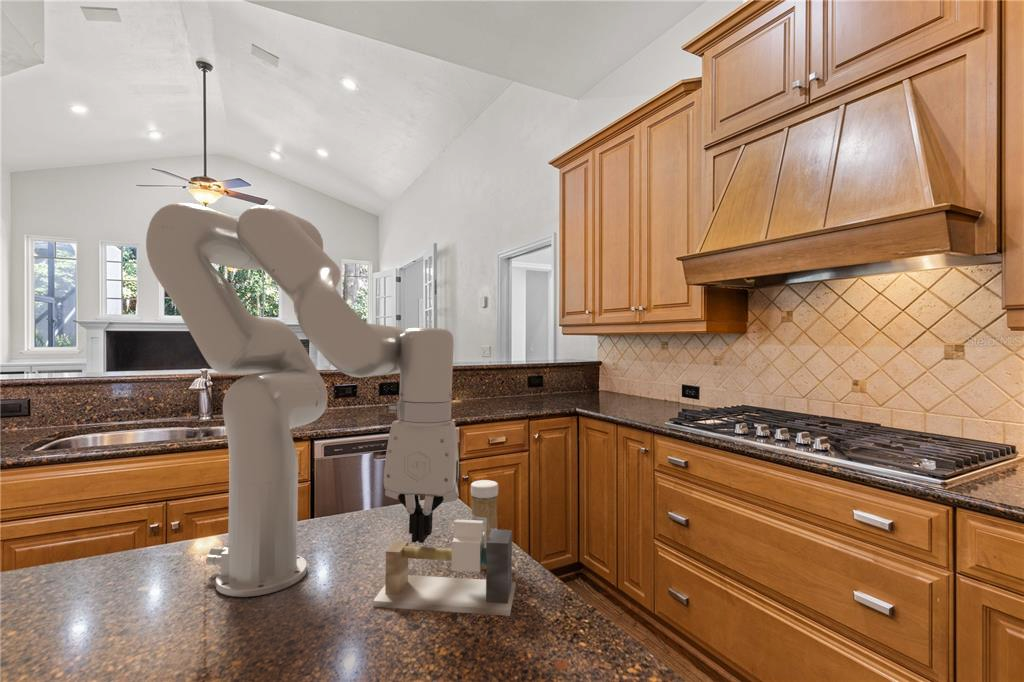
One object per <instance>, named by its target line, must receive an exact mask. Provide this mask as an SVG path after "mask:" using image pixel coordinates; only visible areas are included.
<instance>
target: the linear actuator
mask: <svg viewBox="0 0 1024 682" xmlns="http://www.w3.org/2000/svg"><path fill="white" fill-rule="evenodd" d="M512 544H513V530H512V529H499V528H497V529H492V530H491V532H490V535H489V537H488V540H487V542H486V548H482V550H481V565H486V569H485V570H486V571H485V572H486V573H485V579H482V578H481V579H476V578H463V577H448V576H447V577H446V576H444V577H443V576H429V575H428V576H427V575H414V574H413V575H412V574H409V559H414V560H432V561H433V560H434V561H450V562H452V548H450V547H449V548H448V547H445V548H444V547H431V546H430V547H429V546H410V545H409V541H408V540H394V541H393V542H392V543H391V545H390V546H389V547H388V548H387V550H386V551H385V583H384V584H385V585H384V586H382V588H381V590H380V591H379V592H378V594H377V595H376V596H375V597H374V599H373V600H372V607H374V608H375V607H376V608H387V609H403V610H418V611H429V612H431V611H434V612H447V613H463V614H478V615H479V614H480V615H490V616H491V615H492V616H507V617H510V616H511V612H512V608H513V602H514V597H515V591H516V588H517V581H514V580H513V581H512V577H513V576H512V573H513V572H512V571H513V569H512V566H513V565H512V562H513V561H512V555H513V552H512V551H513V550H512V549H513V545H512Z"/></svg>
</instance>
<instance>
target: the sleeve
mask: <svg viewBox="0 0 1024 682" xmlns="http://www.w3.org/2000/svg"><path fill="white" fill-rule="evenodd" d="M453 528H454V533H453V534H454V537H453V539H452V541H451V549H452V561H451V571H452V572H453V571H455V572H468V573H469V572H473V573H481V570H482V569H481V550H482V548H485V532H483V521H479V520H471V519H457V518H456V519H455V521H454V526H453Z"/></svg>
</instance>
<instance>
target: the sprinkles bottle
mask: <svg viewBox="0 0 1024 682" xmlns="http://www.w3.org/2000/svg"><path fill="white" fill-rule="evenodd" d="M470 495H471V497H470V498H471V513H470V515H471V516H470V520H479V521H483V532H485V548H486V542H487V540H488V537H489V535H490V532H491V530H492V529H498V495H499V483H498V482H497V481H494V480H489V479H481V480H480V479H479V480H475V481H473V482H472V483H470ZM481 570H486V565H481Z"/></svg>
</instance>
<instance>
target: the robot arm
mask: <svg viewBox="0 0 1024 682" xmlns="http://www.w3.org/2000/svg"><path fill="white" fill-rule="evenodd" d="M323 242H324V241H323V237H322V235H321V233H320V231H319V230H318V228H317V227H316V226H315V225H314V224H313V223H312V222H310V221H308V220H306V219H304V218H302V217H300V216H297V215H295V214H293V213H290V212H288V211H286V210H283V209H281V208H278V207H276V206H272V205H255V206H251V207H250V208H247V209H246V210H245V211H243V212H242V213H241V214H240V215H239V217H238V218H237V217H234V216H232V215H229V214H227V213H224V212H221V211H218V210H216V209H214V208H213V209H212V208H209V207H206V206H202V205H200V204H194V203H187V202H186V203H185V202H175V203H171V204H167V205H165V206H163V207H161V208H159V209H158V210H157V211H156V212H155V213H154V214H153V216H152V218H151V220H150V222H149V224H148V228H147V232H146V238H145V243H146V244H145V247H146V248H145V249H146V254H147V259H148V263H149V265H150V267H151V270H152V272H153V274H154V276H155V277H156V280H158V282H159V284H160V285H161V287H162V288H163V290H164V291H165V292H166V293H167V295H168V297H169V298H170V299H171V301H172V302H173V305H174V306H175V307H176V308H177V311H178V312H179V314H180V317H181V319H182V321H183V322H184V324H185V326H186V328H187V330H188V332H189V333H190V335H191V336H192V338H193V340H194V342H195V344H196V346H197V347H198V349H199V351H200V353H201V354H202V356H203V358H204V360H205V361H206V363H207V364H208V366H209V367H210V368H211V369H213V370H214V371H215V372H218V373H219V374H224V375H245V376H243V377H241V378H239V379H237V380H236V381H235V382H234V383H232V384H231V385H230V386H229V388H227V391H226V392H225V395H224V398H223V400H222V417H223V422H224V427H225V432H226V436H227V437H226V438H227V444H228V467H229V468H228V523H227V524H228V528H227V530H228V531H227V532H228V536H227V546H226V545H225V546H224V545H214V546H212V547H211V548H210V550H209V553H208V555H207V557H206V559H205V564H206V565H213V566H216V565H219V566H220V572H219V573H218V574H217V575H216V578H215V585H214V587H215V589H216V591H218V593H220V594H222V595H225V596H229V597H236V598H237V597H238V598H251V597H257V596H263V595H268V594H272V593H275V592H279V591H282V590H284V589H286V588H289V587H291V586H292V585H294V584H296V583H298V582H299V581H300V580H302V579H303V578H304V577H305V575H306V574H307V572H308V562H307V560H306V559H305V558H304V557H303V556H301V555H298V502H299V498H298V497H299V494H298V493H299V492H298V491H299V489H298V488H299V459H298V450H297V447H296V444H295V441H294V439H293V435H292V434H291V429H294V428H298V427H303V426H305V425H308V424H311V423H313V422H315V421H317V420H319V418H320V417H321V416H322V415H323V414H324V412H325V410H326V408H327V406H328V397H329V396H328V390H327V387H326V383H325V381H324V379H323V377H322V376H321V374H320V372H319V370H318V368H317V367H316V365H315V364H314V362H313V360H312V359H311V357H310V355H309V353H308V351H307V349H306V348H305V346H304V345H303V343H302V342H301V340H300V338H299V337H298V335H297V333H295V331H294V330H293V329H292V328H291V327H290V326H289V325H287V324H286V323H284V322H282V321H281V320H279V319H275V318H271V317H264V316H263V317H262V316H256V315H254V314H252V313H250V311H249V310H248V309H247V308H246V306H245V304H244V303H243V301H242V300H241V299H240V297H239V295H238V292H237V291H236V289H235V288H234V286H233V285H232V284H231V282H229V280H228V279H227V278H226V277H225V276H224V275H222V274H221V272H219V270H217V268H215V266H214V265H219V266H223V267H227V268H228V267H229V268H232V269H236V270H237V269H239V270H247V271H250V270H255V271H256V270H258V271H259V270H260V271H265V273H266V274H267V275H268V276H269V277H270V278H271V280H273V281H274V282H275V283H276V284H277V286H279V288H280V289H281V290H282V291H283V293H285V295H287V297H288V298H289V299H290V300H291V301H292V302H293V309H294V310H293V311H294V315H295V317H296V319H297V322H298V325H299V328H300V329H301V331H302V333H303V334H304V336H305V337H306V338H307V340H308V341H309V342H310V343H311V344H312V345H313V346H314V348H316V350H317V351H318V352H319V353H320V354H321V355H322V356H323V357H324V358H325V359H326V361H328V363H330V364H331V365H332V366H333V367H334V368H336V369H337V370H338V371H339V372H341V373H342V374H343V375H344V374H345V375H347V376H349V377H353V378H368V377H375V376H376V377H377V376H378V377H379V376H380V377H381V376H387V375H395V374H396V375H397V374H399V391H398V393H399V395H398V396H399V397H398V399H397V402H395V403H394V402H390V404H389V407H388V411H389V412H390V413H395V414H396V418H397V420H394V421H392V422H391V426H390V430H389V435H388V441H387V447H386V453H385V461H384V468H383V487H384V489H385V491H384V495H385V496H386V497H388V498H390V499H394V500H399V503H401V505H402V506H403V507H405V509H406V512H407V514H408V515H409V517H408V518H409V520H408V521H409V522H408V534H409V535H411V543H417V542H418V543H420V544H424V542H425V541H426V539H427V538H428V537H429V536H431V534H432V531H433V517H434V516H433V513H434V511H435V510H436V509H437V507H439V506H440V505H442V504H446V503H451V502H452V503H453V502H456V501H457V500H458V499H459V496H460V493H459V488H458V482H459V473H460V472H459V471H460V465H459V462H460V460H459V442H458V435H457V429H456V423H455V422H454V421H451V419H452V395H453V393H452V392H453V390H452V389H453V370H454V369H453V368H454V366H453V365H454V336H453V334H452V332H451V331H450V330H447V329H445V328H438V327H409V328H402V327H397V326H396V327H395V326H392V325H383V324H376V323H375V324H374V323H369V322H368V323H367V322H366V321H365V320H364V319H362V318H361V316H359V314H358V313H357V312H356V311H355V310H354V309H353V308H352V307H351V306H350V305H349V304H348V303H347V302H346V301H345V300H344V298H343V297H342V296H341V294H340V293H339V291H338V289H337V286H338V285H339V282H340V280H341V270H340V267H339V266H338V265H337V263H336V262H335V261H334V260H333V259H332V258H331V256H328V254H327V253H326V252H325V251H324V243H323ZM246 374H247V375H246ZM420 496H425V497H424V502H423V506H422V505H421V497H420Z"/></svg>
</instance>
